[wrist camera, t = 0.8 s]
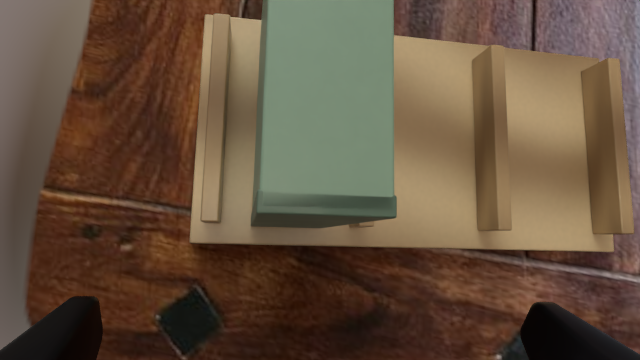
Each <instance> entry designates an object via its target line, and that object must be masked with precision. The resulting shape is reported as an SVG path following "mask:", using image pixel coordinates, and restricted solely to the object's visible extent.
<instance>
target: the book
mask: <svg viewBox="0 0 640 360" xmlns="http://www.w3.org/2000/svg"><path fill="white" fill-rule="evenodd" d="M396 217H397V197H396V196H395V195H394V0H263V8H262V21H261V35H260V55H259V76H258V98H257V119H256V141H255V162H254V184H253V205H252V214H251V226H254V227H290V228H327V227H334V226H341V225H349V224H356V223H364V222H371V221H379V220H386V219H394V218H396Z"/></svg>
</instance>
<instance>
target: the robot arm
mask: <svg viewBox="0 0 640 360" xmlns="http://www.w3.org/2000/svg"><path fill="white" fill-rule="evenodd" d="M102 334H103V327H102V320H101V312H100V305H99V301H98V299H97V298H96V297H93V296H75V297H72V298H70V299H68V300H67V301H66V302H64V303H63V304H62V305H60V306H59V307H58V308H56V309H55V310H53V311H52V312H51V313H49V314H48V315H47V316H45V317H44V318H43V319H41V320H40V321H39V322H37V323H36V324H35V325H33V326H32V327H31V328H29V329H28V330H27V331H25V332H24V333H23V334H21V335H20V336H19V337H17V338H16V339H15V340H13V341H12V342H11V343H9V344H8V345H7V346H5V347H4V348H3V349H1V350H0V360H96V358H97V355H98V351H99V348H100V344H101V341H102ZM520 335H521V340H522V343H523V345H524V348H525V350H526V353H527V355H528V357H529V360H640V354H638V353H636V352H635V351H633V350H631V349H630V348H628V347H626V346H625V345H623V344H621V343H620V342H618V341H616V340H615V339H613V338H612V337H610V336H608V335H607V334H605V333H603V332H602V331H600V330H598V329H597V328H595V327H593V326H592V325H590V324H588V323H587V322H585V321H584V320H582V319H580V318H579V317H577V316H575V315H574V314H572V313H570V312H569V311H567V310H565V309H564V308H562V307H560V306H559V305H557V304H555V303H552V302H536V303H534V304H533V305H532V306H531V308H530V310H529V312H528V314H527V317H526V319H525V321H524V323H523V325H522V327H521V331H520Z"/></svg>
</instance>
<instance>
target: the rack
mask: <svg viewBox="0 0 640 360" xmlns="http://www.w3.org/2000/svg"><path fill="white" fill-rule="evenodd" d="M260 35H261V20H252V19H243V18H234V17H230V15H226V14H217V13H214V15H208V14H206V15H205V20H204V35H203V50H202V65H201V79H200V94H199V109H198V124H197V139H196V153H195V168H194V183H193V198H192V213H191V227H190V243H197V244H246V245H295V246H343V247H392V248H440V249H489V250H537V251H586V252H614V244H613V234H634V223H633V211H632V199H631V188H630V176H629V164H628V153H627V141H626V130H625V118H624V106H623V95H622V83H621V71H620V60H619V59H614V58H607V59H605V60H603V61H601V62H599V59H598V58H590V57H581V56H572V55H563V54H554V53H546V52H537V51H528V50H519V49H510V48H504V46H499V45H490V46H483V45H474V44H466V43H457V42H448V41H439V40H430V39H421V38H412V37H403V36H394V195H395V196H396V197H397V217H396V218H394V219H386V220H379V221H371V222H364V223H356V224H349V225H341V226H334V227H327V228H290V227H254V226H251V214H252V205H253V184H254V162H255V141H256V119H257V98H258V76H259V55H260Z"/></svg>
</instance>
